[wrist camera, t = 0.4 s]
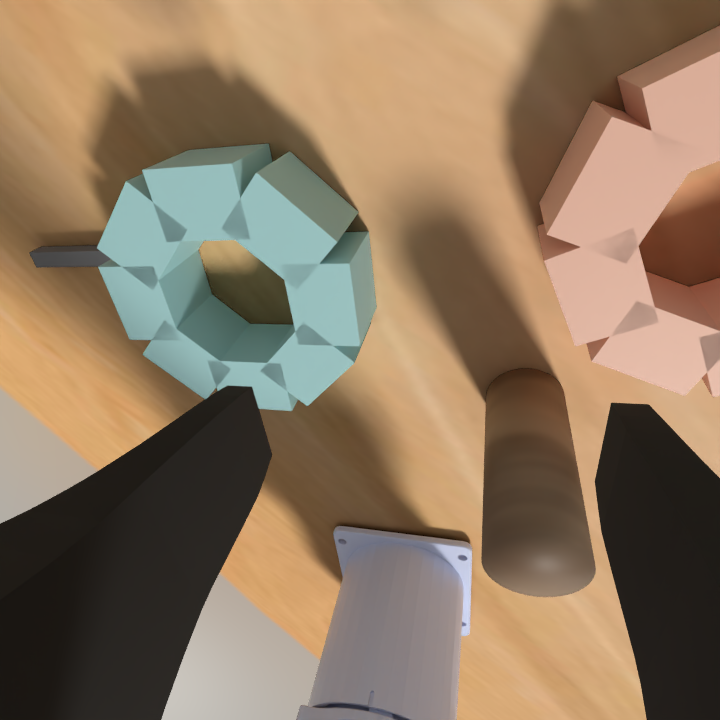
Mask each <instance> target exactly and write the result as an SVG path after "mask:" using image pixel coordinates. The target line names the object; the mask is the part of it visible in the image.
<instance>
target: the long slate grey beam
mask: <svg viewBox="0 0 720 720" xmlns="http://www.w3.org/2000/svg"><path fill="white" fill-rule="evenodd" d="M97 247H98V245H89V246H53V247H40V248H38V249H36V250H34V251H32V252H29V254H30V256H31V257H32V259H33V261H34V263H35V265H36V267H99V266H101V265H102V264H104V263H105V262H107V261H109V260H110V258H109V257H108V256H106V255H105V254H104V253H102V252H101V251H100V250H98V249H97Z"/></svg>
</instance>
